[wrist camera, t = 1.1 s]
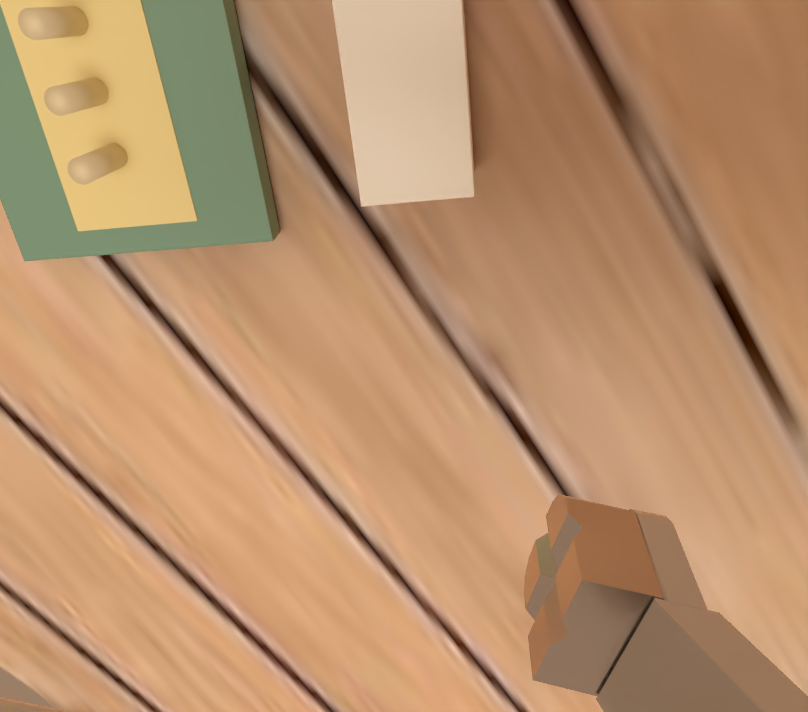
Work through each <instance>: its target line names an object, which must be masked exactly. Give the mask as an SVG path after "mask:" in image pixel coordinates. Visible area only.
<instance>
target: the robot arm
mask: <svg viewBox="0 0 808 712" xmlns="http://www.w3.org/2000/svg"><path fill="white" fill-rule="evenodd" d="M546 519H547V526H548V533H547V534H545V535H544V536H542V537H540V538H539V539H537V540H536V541H535V543H534V546H533V549H532V551H531V554H530V556H529V559H528V564H527V569H526V574H525V583H524V598H525V608H526V610H527V611H528V612H529V614H530V615H531V616H532V617H533V619H534V620H535V622H534V624H533V626H532V628H531V630H530V633H529V635H528V640H529V649H530V659H531V668H532V677H533V680H535V681H539V682H543V683H547V684H551V685H555V686H559V687H563V688H567V689H571V690H575V691H579V692H583V693H587V694H591V695H595V696H597V698H596V700H597V701H598V703H599V705H600V706H601V708H602V709H603V711H604V712H808V696H807V695H806V694H805V693H804V692H803V691H802V690H801V689H799V688H798V687H797V686H796V685H795V684H794V683H793V682H792V681H791V680H790V679H789V678H788V677H787V676H786V675H785V674H784V673H783V672H781V671H780V670H779V669H778V668H777V667H776V666H775V665H774V664H773V663H772V662H771V661H770V660H769V659H768V658H767V657H766V656H764V655H763V654H762V653H761V652H760V651H759V650H758V649H757V648H756V647H755V646H754V645H753V644H752V643H751V642H750V641H749V640H748V639H746V638H745V637H744V636H743V635H742V634H741V633H740V632H739V631H738V630H737V629H736V628H735V627H734V626H733V625H732V624H731V623H730V622H728V621H727V620H726V619H725V618H724V617H723V616H722V615H721V614H720V613H718V612H714V611H710V610H708V609H707V607H706V604H705V602H704V599H703V597H702V594H701V592H700V589H699V587H698V585H697V582H696V580H695V577H694V575H693V572H692V570H691V567H690V565H689V562H688V560H687V557H686V555H685V552H684V550H683V547H682V545H681V542H680V540H679V537H678V535H677V533H676V530H675V528H674V525H673V523H672V522H671V521H670V520H669V519H668V518H667V517H666V516H661V515H656V514H651V513H647V512H642V511H637V510H632V509H630V510H626V509H621V508H617V507H613V506H608V505H604V504H599V503H595V502H590V501H586V500H581V499H577V498H573V497H568V496H564V495H559V494H558V496H557V497H556V498H555V499H554V501H553V502H552V504H551V506H550V508H549V511H548V513H547V515H546ZM0 712H68V711H63V710H58V709H54V708H49V707H44V706H40V705H35V704H30V703H26V702H21V701H16V700H12V699H7V698H2V697H0Z"/></svg>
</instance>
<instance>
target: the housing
mask: <svg viewBox="0 0 808 712" xmlns="http://www.w3.org/2000/svg"><path fill="white" fill-rule="evenodd" d="M332 5H333V12H334V19H335V26H336V33H337V40H338V47H339V54H340V61H341V68H342V75H343V82H344V89H345V96H346V103H347V110H348V117H349V124H350V131H351V138H352V145H353V152H354V159H355V166H356V173H357V180H358V187H359V194H360V201H361V207H362V206H373V205H385V204H396V203H407V202H419V201H430V200H442V199H453V198H465V197H474V158H473V143H472V127H471V111H470V96H469V80H468V64H467V49H466V33H465V17H464V2H463V0H332Z"/></svg>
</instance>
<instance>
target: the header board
mask: <svg viewBox="0 0 808 712" xmlns="http://www.w3.org/2000/svg"><path fill="white" fill-rule="evenodd" d="M0 199H1V202H2V205H3V207H4V210H5V212H6V215H7V217H8V220H9V223H10V225H11V228H12V230H13V233H14V235H15V238H16V241H17V243H18V246H19V248H20V251H21V254H22V256H23V259H24V261H34V260H46V259H59V258H71V257H83V256H95V255H108V254H120V253H132V252H144V251H157V250H169V249H181V248H193V247H205V246H218V245H230V244H242V243H254V242H267V241H273V240H274V239H275V238H276V237H277V235H278V234H279V233H280V228H279V224H278V219H277V214H276V209H275V204H274V199H273V194H272V189H271V184H270V179H269V174H268V169H267V164H266V159H265V154H264V149H263V144H262V139H261V134H260V129H259V124H258V119H257V115H256V110H255V105H254V100H253V95H252V90H251V85H250V80H249V75H248V70H247V65H246V60H245V55H244V50H243V45H242V40H241V35H240V30H239V25H238V20H237V15H236V11H235V6H234V1H233V0H0Z"/></svg>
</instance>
